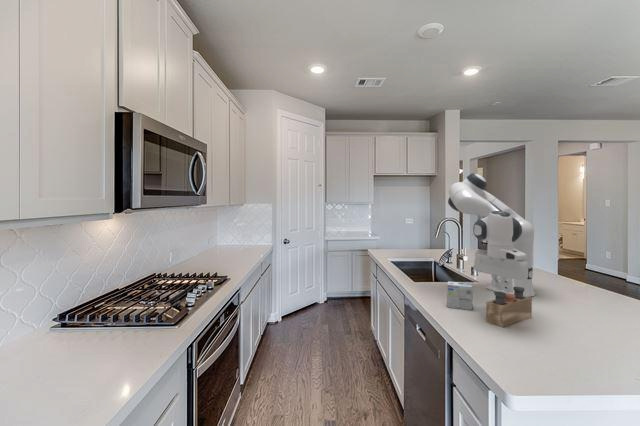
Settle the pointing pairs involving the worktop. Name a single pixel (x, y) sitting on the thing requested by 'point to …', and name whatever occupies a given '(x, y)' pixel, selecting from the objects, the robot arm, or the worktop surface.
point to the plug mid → (510, 297)
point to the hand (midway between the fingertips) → (498, 286)
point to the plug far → (518, 292)
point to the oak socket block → (508, 311)
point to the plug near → (500, 298)
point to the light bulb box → (459, 295)
